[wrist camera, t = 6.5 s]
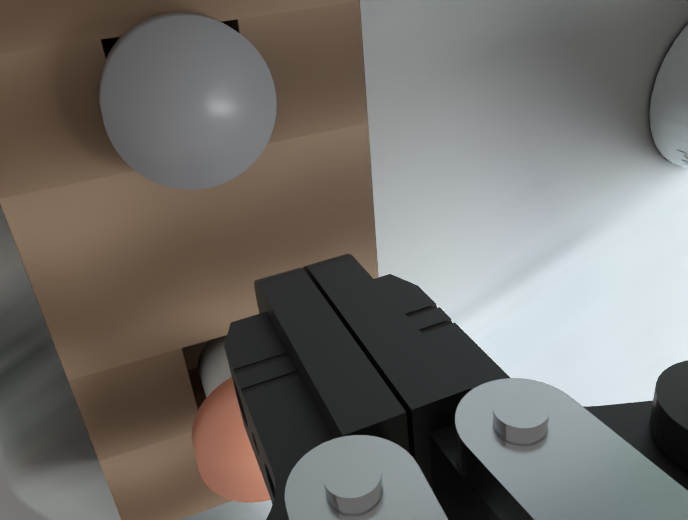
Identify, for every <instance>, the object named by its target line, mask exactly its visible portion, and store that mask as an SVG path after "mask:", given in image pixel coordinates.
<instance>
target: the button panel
mask: <svg viewBox="0 0 688 520" xmlns="http://www.w3.org/2000/svg"><path fill="white" fill-rule="evenodd" d="M179 11H182V12H193V13H198V14H203V15H206V16H209V17H212V18H214V19H216V20H218V21H220V22H222V23H224V24H226V25H227V26H229V27H231V28H232V29H234V30H235V31H237V32H238V33H240V34H241V35H243V36H244V37H245V38H246V39H247V40H248V41H249V42H250V43H251V44H252V45H253V46H254V47H255V48H256V49H257V50H258V52H259V53H260V55H261V56H262V58H263V59H264V61H265V62H266V64H267V66H268V68H269V70H270V73H271V76H272V79H273V82H274V86H275V91H276V101H277V107H276V118H275V124H274V127H273V131H272V134H271V136H270V139H269V141H268V143H267V145H266V147H265V148H264V150H263V152H262V153H261V155H260V156H259V157H258V158H257V159H256V161H255V162H254V163H253V164H252V165H251V166H250V167H249V168H248V169H247V170H245V171H244V172H243V173H241V174H240V175H239V176H237V177H235V178H233V179H232V180H230V181H228V182H225V183H223V184H221V185H218V186H214V187H211V188H205V189H199V190H184V189H175V188H171V187H166V186H163V185H160V184H157V183H155V182H153V181H151V180H149V179H147V178H145V177H143V176H142V175H140V174H139V173H137V172H136V171H135V170H134V169H132V168H131V167H130V166H129V165H128V164H127V163H126V162H125V161H124V160H123V159H122V158H121V156H120V155H119V154H118V152H117V151H116V149H115V148H114V146H113V145H112V143H111V141H110V139H109V137H108V134H107V132H106V129H105V126H104V122H103V117H102V112H101V107H100V102H99V83H100V76H101V72H102V68H103V65H104V63H105V60H106V58H107V56H108V54H109V52H110V50H111V49H112V47H113V46H114V44H115V43H116V42H117V40H118V39H119V38H120V37H121V36H122V35H123V34H124V33H125V32H126V31H127V30H129V29H130V28H131V27H133V26H134V25H136V24H137V23H139V22H141V21H143V20H145V19H147V18H149V17H152V16H155V15H158V14H162V13H167V12H179ZM0 204H1V207H2V210H3V212H4V215H5V217H6V220H7V223H8V225H9V228H10V231H11V233H12V236H13V238H14V241H15V244H16V246H17V249H18V251H19V254H20V257H21V259H22V262H23V264H24V267H25V270H26V272H27V275H28V277H29V280H30V283H31V285H32V288H33V290H34V293H35V296H36V298H37V301H38V303H39V306H40V309H41V311H42V314H43V317H44V319H45V322H46V324H47V327H48V330H49V332H50V335H51V337H52V340H53V343H54V345H55V348H56V350H57V353H58V356H59V358H60V361H61V363H62V366H63V369H64V371H65V374H66V376H67V379H68V382H69V384H70V387H71V389H72V392H73V395H74V397H75V400H76V403H77V405H78V408H79V410H80V413H81V416H82V418H83V421H84V423H85V426H86V429H87V431H88V434H89V436H90V439H91V442H92V444H93V447H94V449H95V452H96V455H97V457H98V460H99V462H100V465H101V468H102V470H103V473H104V475H105V478H106V481H107V483H108V486H109V489H110V491H111V494H112V496H113V499H114V502H115V504H116V507H117V509H118V512H119V515H120V517H121V520H180V519H183V518H186V517H188V516H191V515H194V514H197V513H200V512H202V511H205V510H208V509H211V508H213V507H216V506H219V505H222V504H224V503H227V502H230V501H233V500H229V499H226V498H224V497H221V496H220V495H218V494H216V493H215V492H213V491H212V490H211V489H210V488H209V487H208V486H207V485H206V484H205V482H204V481H203V479H202V477H201V475H200V472H199V469H198V465H197V461H196V457H195V453H194V449H193V444H192V426H193V422H194V419H195V416H196V414H197V412H198V410H199V408H200V406H201V405H202V403H203V402H204V400H205V399H206V395H205V391H204V388H203V385H202V382H201V378H200V375H199V372H198V358H199V355H200V353H201V350H202V349H203V347H204V346H205V344H206V343H207V342H208V341H209V340H212V339H215V338H218V337H222V336H225V335H227V334H228V330H229V327H230V323H231V322H234V321H237V320H240V319H244V318H247V317H250V316H254V315H257V314H259V309H258V304H257V300H256V295H255V288H254V281H255V280H258V279H262V278H265V277H269V276H272V275H276V274H279V273H283V272H286V271H290V270H293V269H296V268H300V267H301V268H303V267H304V266H306V265H310V264H313V263H317V262H320V261H324V260H327V259H331V258H334V257H338V256H341V255H345V254H351V255H352V256H353V257H354V258H355V259H356V260H357V261H358V262H359V263H360V264H361V265H362V267H363V268H364V269H365V270H366V271H367V272H368V273H369V274H370V276H371V277H372V278H373V279H376V278H378V263H377V249H376V234H375V219H374V204H373V190H372V175H371V160H370V145H369V131H368V116H367V101H366V86H365V72H364V57H363V42H362V27H361V13H360V0H0Z"/></svg>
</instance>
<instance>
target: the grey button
mask: <svg viewBox="0 0 688 520" xmlns="http://www.w3.org/2000/svg"><path fill="white" fill-rule="evenodd" d="M99 102H100V107H101V112H102V117H103V122H104V126H105V129H106V132H107V134H108V137H109V139H110V141H111V143H112V145H113V146H114V148H115V149H116V151H117V152H118V154H119V155H120V156H121V158H122V159H123V160H124V161H125V162H126V163H127V164H128V165H129V166H130V167H131V168H132V169H134V170H135V171H136V172H137V173H139V174H140V175H142V176H143V177H145V178H147V179H149V180H151V181H153V182H155V183H157V184H160V185H163V186H166V187H171V188H175V189H184V190H199V189H205V188H211V187H214V186H218V185H221V184H223V183H225V182H228V181H230V180H232V179H233V178H235V177H237V176H239V175H240V174H241V173H243V172H244V171H245V170H247V169H248V168H249V167H250V166H251V165H252V164H253V163H254V162H255V161H256V159H257V158H258V157H259V156H260V155H261V153H262V152H263V150H264V148H265V147H266V145H267V143H268V141H269V139H270V136H271V134H272V131H273V127H274V124H275V118H276V107H277V101H276V91H275V86H274V82H273V79H272V76H271V73H270V70H269V68H268V66H267V64H266V62H265V61H264V59H263V58H262V56H261V55H260V53H259V52H258V50H257V49H256V48H255V47H254V46H253V45H252V44H251V43H250V42H249V41H248V40H247V39H246V38H245V37H244V36H243V35H241V34H240V33H238V32H237V31H235V30H234V29H232V28H231V27H229V26H227V25H226V24H224V23H222V22H220V21H218V20H216V19H214V18H212V17H209V16H206V15H203V14H198V13H193V12H182V11H179V12H167V13H162V14H158V15H155V16H152V17H149V18H147V19H145V20H143V21H141V22H139V23H137V24H136V25H134V26H133V27H131V28H130V29H129V30H127V31H126V32H125V33H124V34H123V35H122V36H121V37H120V38H119V39H118V40H117V42H116V43H115V44H114V46H113V47H112V49H111V50H110V52H109V54H108V56H107V58H106V60H105V63H104V65H103V68H102V72H101V76H100V83H99Z"/></svg>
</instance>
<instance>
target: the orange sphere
mask: <svg viewBox="0 0 688 520" xmlns="http://www.w3.org/2000/svg"><path fill="white" fill-rule="evenodd" d="M226 338H227V335H225V336H222V337H218V338H215V339H212V340H209V341H208V342H207V343H206V344H205V346H204V347H203V349H202V350H201V353H200V355H199V358H198V372H199V375H200V378H201V382H202V385H203V388H204V391H205V395H206V399H205V400H204V402H203V403H202V405H201V406H200V408H199V410H198V412H197V414H196V416H195V419H194V422H193V426H192V444H193V449H194V453H195V457H196V461H197V465H198V469H199V472H200V475H201V477H202V479H203V481H204V482H205V484H206V485H207V486H208V487H209V488H210V489H211V490H212V491H213V492H215V493H216V494H218V495H220V496H221V497H224V498H226V499H229V500H233V501H238V502H261V501H267V500H271V498H270V495H269V493H268V490H267V487H266V485H265V482H264V479H263V476H262V473H261V471H260V468H259V465H258V463H257V460H256V457H255V454H254V451H253V449H252V446H251V444H250V441H249V438H248V435H247V433H246V430H245V427H244V424H243V420H242V416H241V412H240V408H239V404H238V400H237V396H236V392H235V388H234V384H233V380H232V376H231V372H230V368H229V364H228V360H227V356H226V352H225V348H224V345H225V341H226Z"/></svg>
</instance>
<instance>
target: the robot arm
mask: <svg viewBox="0 0 688 520" xmlns="http://www.w3.org/2000/svg"><path fill="white" fill-rule="evenodd" d="M650 126H651V133H652V136H653V139H654V142H655V145H656V147H657V148H658V150H659V151H660V153H661V154H662V156H664V157H665V158H666V159H667V160H669V161H670V162H671V163H673V164H676V165H678V166H681V167H683V168H686V169H688V25H687V26H686V27H685V28H684V30H683V31H682V32H681V33H680V35H679V36H678V37H677V38H676V40H675V41H674V43H673V45H672V46H671V48H670V50H669V51H668V53H667V55H666V57H665V58H664V61H663V63H662V65H661V68H660V70H659V73H658V75H657V77H656V81H655V85H654V89H653V93H652V96H651V106H650ZM254 288H255V295H256V300H257V304H258V309H259V314H257V315H254V316H250V317H247V318H244V319H240V320H237V321H234V322H231V323H230V327H229V330H228V334H227V338H226V341H225V345H224V348H225V352H226V356H227V360H228V364H229V368H230V372H231V376H232V380H233V384H234V388H235V392H236V396H237V400H238V404H239V408H240V412H241V416H242V420H243V424H244V427H245V430H246V433H247V435H248V438H249V441H250V444H251V446H252V449H253V451H254V454H255V457H256V460H257V463H258V465H259V468H260V471H261V473H262V476H263V479H264V482H265V485H266V487H267V490H268V493H269V495H270V498H271V501H272V504H273V505H272V508H271V511H270V513H269V515H268V517H267V519H266V520H688V361H684V362H680V363H677V364H675V365H672V366H670V367H669V368H667V369H666V370H665V371H663V372H662V374H661V375H660V376H659V378H658V380H657V382H656V387H655V393H654V399H653V401H645V402H635V403H625V404H615V405H605V406H591V407H583V406H581V405H580V404H579V403H578V402H576V401H575V400H574V399H573V398H571V397H570V396H569V395H567V394H566V393H564V392H563V391H561V390H559V389H557V388H555V387H553V386H551V385H548V384H545V383H543V382H539V381H535V380H529V379H522V378H510V377H509V376H508V375H507V374H506V373H505V372H504V371H503V370H502V369H501V368H500V367H499V366H498V365H497V364H496V363H495V362H494V361H493V360H492V359H491V358H490V357H489V356H488V355H487V354H486V353H485V352H484V351H483V350H482V349H481V348H480V347H479V346H478V345H477V344H476V343H475V342H474V341H473V340H472V339H471V338H470V337H469V336H468V335H467V334H466V333H465V332H464V331H463V330H462V329H461V328H460V327H459V326H458V325H457V324H456V323H452V321H451V318H450V317H449V316H448V315H447V314H446V313H445V312H444V311H443V310H442V309H441V308H440V307H439V308H437V307H436V303H435V302H434V301H433V300H432V299H431V298H430V297H429V296H428V295H427V294H426V293H425V292H424V291H422V290H421V289H420V288H419V287H418V286H417V285H415V284H412V283H410V282H408V281H405V280H403V279H401V278H398V277H396V276H393V275H391V274H389V275H385V276H382V277H379V278H376V279H373V278H372V277H371V276H370V274H369V273H368V272H367V271H366V270H365V269H364V268H363V267H362V265H361V264H360V263H359V262H358V261H357V260H356V259H355V258H354V257H353V256H352V255H351V254H345V255H341V256H338V257H334V258H331V259H327V260H324V261H320V262H317V263H313V264H310V265H306V266H304V267H303V268H301V267H300V268H296V269H293V270H290V271H286V272H283V273H279V274H276V275H272V276H269V277H265V278H262V279H258V280H255V281H254Z"/></svg>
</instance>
